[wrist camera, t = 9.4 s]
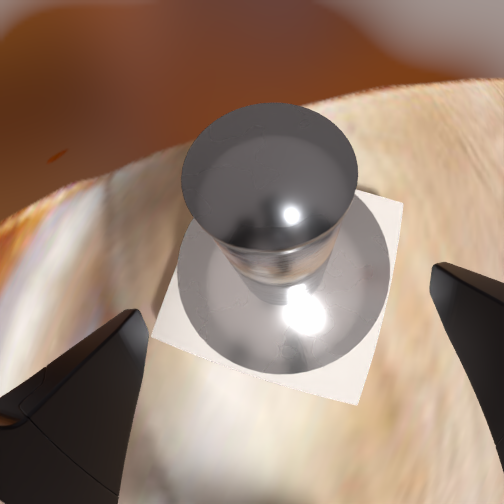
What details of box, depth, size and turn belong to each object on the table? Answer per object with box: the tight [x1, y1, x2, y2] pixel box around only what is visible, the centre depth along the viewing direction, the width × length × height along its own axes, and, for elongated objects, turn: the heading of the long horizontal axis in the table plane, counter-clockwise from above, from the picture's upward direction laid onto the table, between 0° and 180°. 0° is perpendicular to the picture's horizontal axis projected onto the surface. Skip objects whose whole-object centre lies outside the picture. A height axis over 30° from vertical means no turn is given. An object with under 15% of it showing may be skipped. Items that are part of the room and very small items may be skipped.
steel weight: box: [181, 103, 358, 306], centre depth 13 cm, size 5×5×10 cm
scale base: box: [151, 190, 404, 405], centre depth 21 cm, size 14×14×2 cm
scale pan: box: [177, 194, 390, 374], centre depth 20 cm, size 13×14×4 cm
